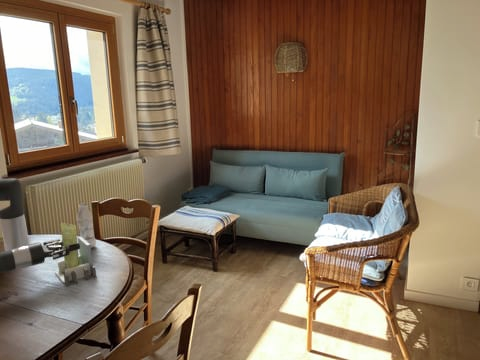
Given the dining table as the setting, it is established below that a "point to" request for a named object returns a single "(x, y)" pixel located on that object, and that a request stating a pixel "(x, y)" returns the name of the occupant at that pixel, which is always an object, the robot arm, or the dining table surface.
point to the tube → (69, 239)
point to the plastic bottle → (86, 224)
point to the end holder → (84, 261)
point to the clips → (74, 278)
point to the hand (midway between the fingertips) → (76, 243)
